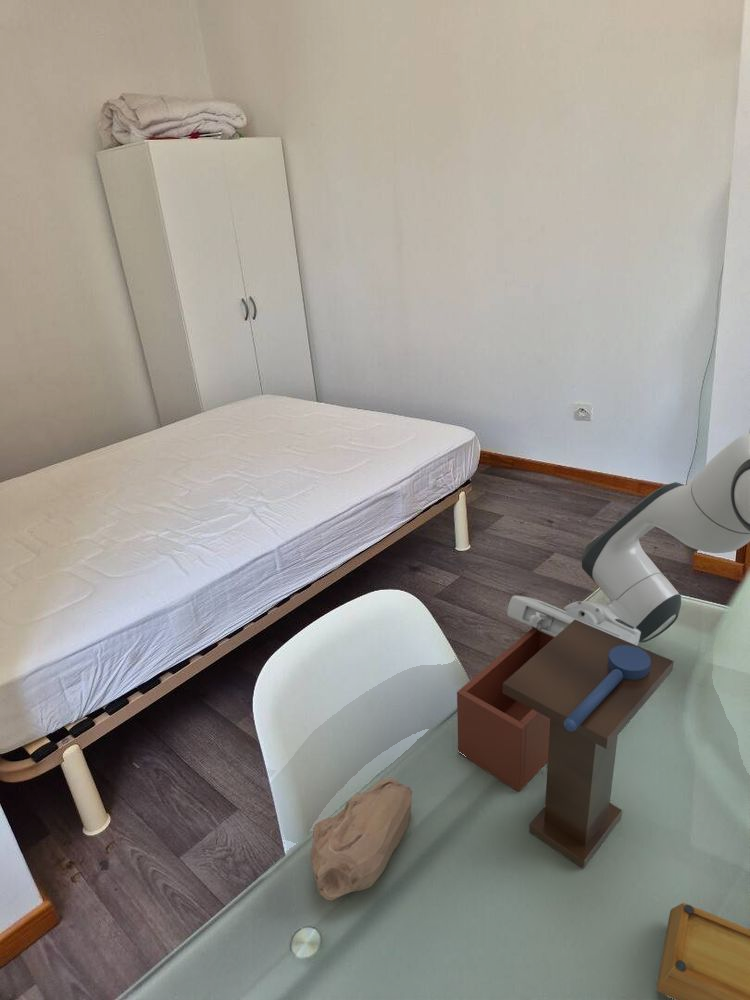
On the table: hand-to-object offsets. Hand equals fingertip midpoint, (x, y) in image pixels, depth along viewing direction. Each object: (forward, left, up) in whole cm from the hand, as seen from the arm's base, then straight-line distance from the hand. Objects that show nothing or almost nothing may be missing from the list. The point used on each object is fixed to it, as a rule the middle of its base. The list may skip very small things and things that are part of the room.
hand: (547, 629), depth 102 cm
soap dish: (-10, +40, -12) cm, 43 cm away
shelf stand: (0, +20, -17) cm, 26 cm away
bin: (+3, +3, -17) cm, 18 cm away
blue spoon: (-1, +23, +9) cm, 25 cm away
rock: (+25, +25, -14) cm, 38 cm away
